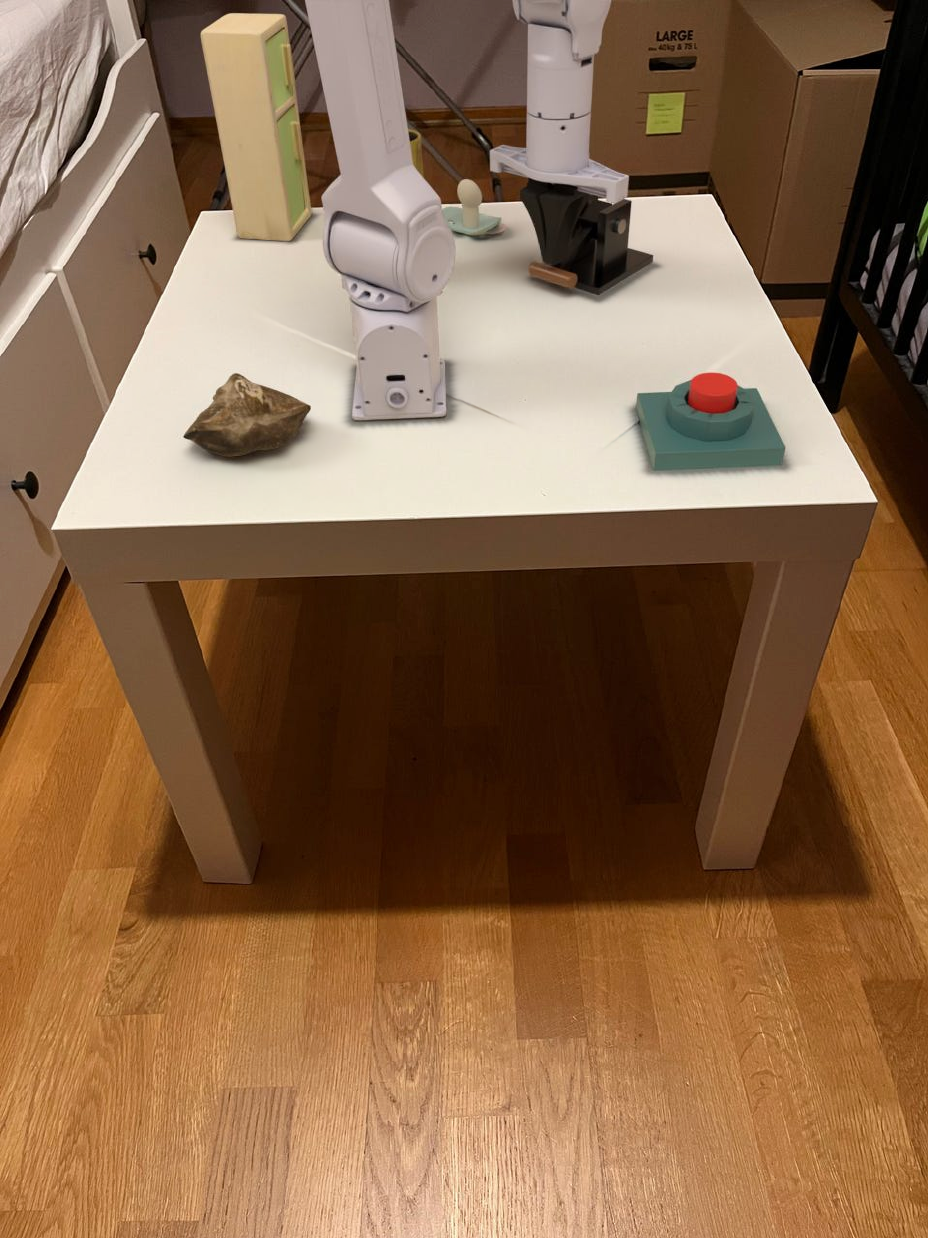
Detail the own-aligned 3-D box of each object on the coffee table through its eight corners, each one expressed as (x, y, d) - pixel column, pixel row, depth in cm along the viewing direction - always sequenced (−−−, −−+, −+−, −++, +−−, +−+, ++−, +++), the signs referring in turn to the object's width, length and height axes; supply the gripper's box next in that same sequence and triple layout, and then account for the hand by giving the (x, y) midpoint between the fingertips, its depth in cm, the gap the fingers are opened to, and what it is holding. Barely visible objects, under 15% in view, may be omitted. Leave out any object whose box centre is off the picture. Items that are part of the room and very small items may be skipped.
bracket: (598, 299, 98) (603, 226, 93) (535, 279, 102) (536, 208, 97) (652, 265, 103) (660, 195, 98) (590, 247, 107) (594, 178, 102)
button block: (781, 466, 76) (790, 427, 74) (653, 471, 76) (658, 432, 74) (753, 405, 82) (760, 368, 80) (635, 410, 82) (639, 373, 80)
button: (739, 414, 76) (742, 394, 75) (692, 416, 76) (695, 396, 75) (728, 390, 78) (731, 371, 77) (683, 392, 78) (686, 372, 77)
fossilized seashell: (177, 454, 75) (308, 462, 77) (178, 366, 74) (311, 376, 76) (189, 451, 83) (309, 459, 84) (190, 371, 81) (312, 380, 83)
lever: (571, 295, 97) (566, 276, 95) (531, 282, 99) (526, 264, 97) (627, 225, 99) (624, 206, 97) (587, 214, 101) (582, 195, 99)
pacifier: (464, 218, 115) (434, 234, 111) (463, 162, 111) (432, 177, 107) (517, 231, 112) (488, 247, 108) (518, 173, 107) (488, 189, 104)
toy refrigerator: (297, 242, 111) (266, 31, 96) (236, 239, 112) (197, 30, 98) (319, 215, 116) (292, 13, 102) (261, 212, 118) (226, 12, 103)
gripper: (652, 113, 85) (638, 264, 95) (522, 86, 92) (521, 230, 102) (606, 134, 81) (596, 290, 91) (474, 104, 89) (477, 252, 98)
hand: (553, 260), depth 96 cm, fingers closed
